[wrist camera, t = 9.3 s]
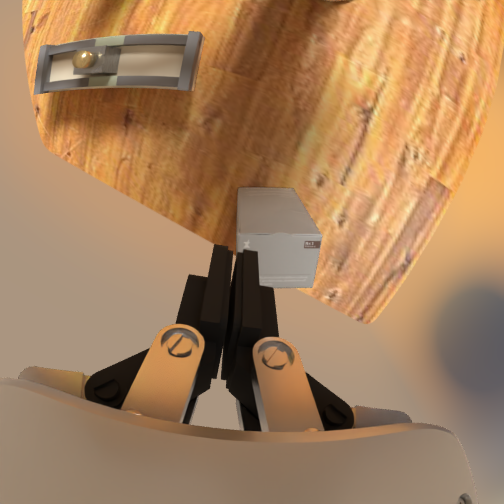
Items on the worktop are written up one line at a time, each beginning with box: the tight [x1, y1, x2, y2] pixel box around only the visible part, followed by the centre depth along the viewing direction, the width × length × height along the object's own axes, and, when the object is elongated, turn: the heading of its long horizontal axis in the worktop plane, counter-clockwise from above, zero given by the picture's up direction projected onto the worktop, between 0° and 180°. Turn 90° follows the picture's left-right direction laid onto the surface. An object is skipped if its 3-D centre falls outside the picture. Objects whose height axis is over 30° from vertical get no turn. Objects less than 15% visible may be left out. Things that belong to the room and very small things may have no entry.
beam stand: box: [34, 31, 205, 95], centre depth 25 cm, size 7×22×8 cm, turn 79°
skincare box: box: [236, 187, 322, 288], centre depth 34 cm, size 8×7×16 cm
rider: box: [72, 45, 121, 75], centre depth 21 cm, size 3×4×6 cm
